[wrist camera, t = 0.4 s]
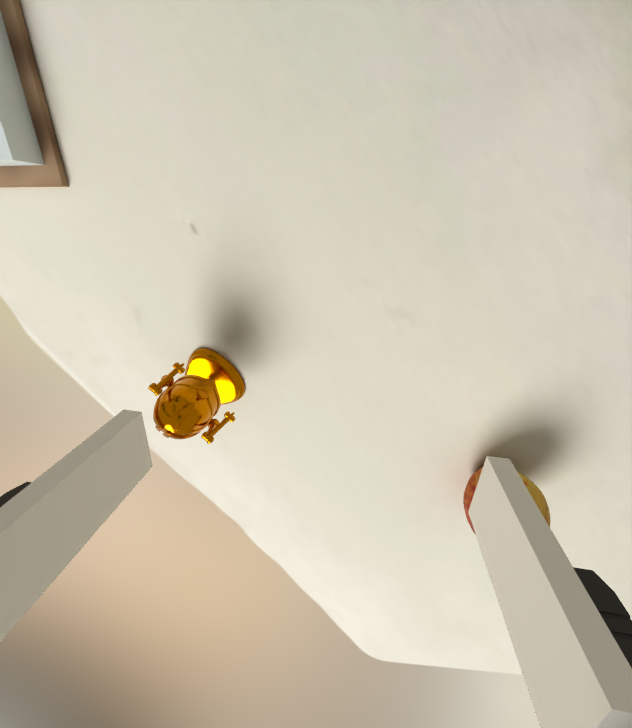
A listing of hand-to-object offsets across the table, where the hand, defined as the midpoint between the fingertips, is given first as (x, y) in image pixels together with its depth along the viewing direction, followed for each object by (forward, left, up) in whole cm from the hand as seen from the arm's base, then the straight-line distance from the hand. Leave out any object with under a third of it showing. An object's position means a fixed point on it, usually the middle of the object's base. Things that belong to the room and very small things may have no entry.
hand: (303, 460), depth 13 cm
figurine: (+11, -17, -28) cm, 35 cm away
